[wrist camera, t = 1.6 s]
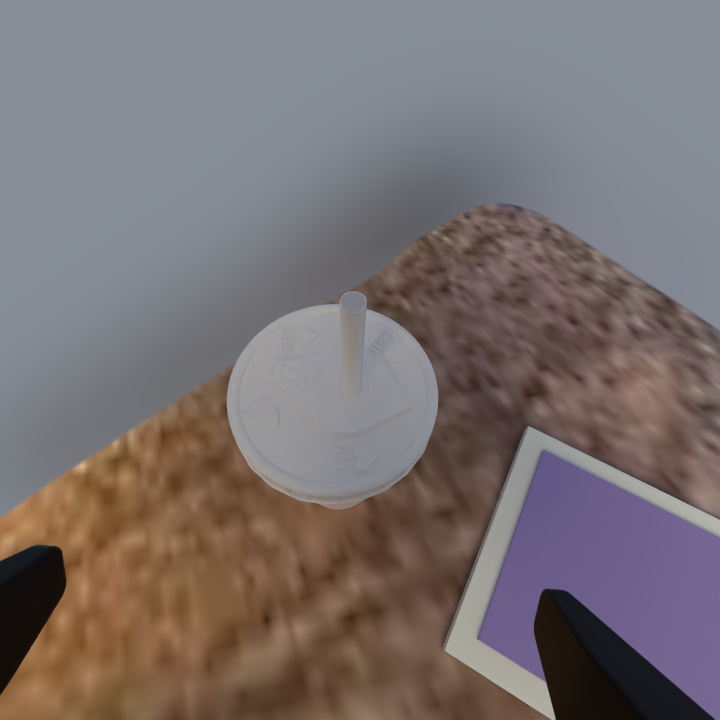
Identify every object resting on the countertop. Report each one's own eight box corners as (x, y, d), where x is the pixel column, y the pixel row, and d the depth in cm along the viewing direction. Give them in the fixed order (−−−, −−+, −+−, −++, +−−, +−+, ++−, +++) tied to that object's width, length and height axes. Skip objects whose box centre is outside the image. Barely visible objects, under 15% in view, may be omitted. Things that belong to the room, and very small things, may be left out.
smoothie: (383, 559, 19) (452, 496, 7) (253, 516, 20) (98, 387, 7) (415, 430, 22) (501, 225, 10) (301, 397, 23) (247, 168, 10)
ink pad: (723, 830, 15) (744, 844, 14) (441, 648, 17) (446, 651, 16) (746, 539, 20) (763, 537, 19) (524, 430, 22) (530, 423, 21)
